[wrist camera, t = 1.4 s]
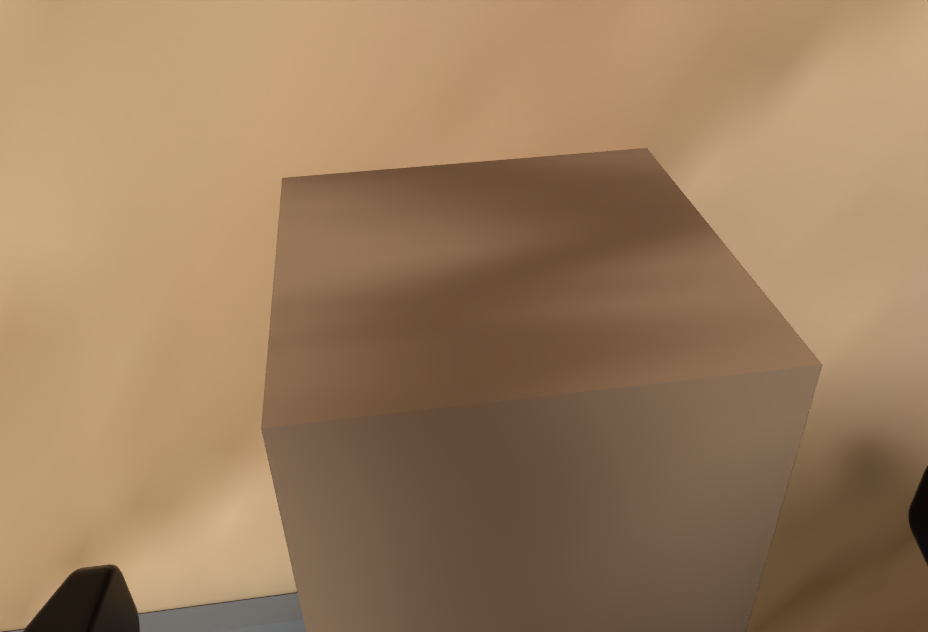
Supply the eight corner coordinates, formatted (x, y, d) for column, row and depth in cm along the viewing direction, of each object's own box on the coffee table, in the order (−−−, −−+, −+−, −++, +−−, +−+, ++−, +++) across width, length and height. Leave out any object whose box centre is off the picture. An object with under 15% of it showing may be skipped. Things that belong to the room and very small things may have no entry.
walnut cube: (645, 145, 12) (822, 364, 7) (615, 414, 14) (732, 679, 10) (282, 175, 11) (260, 427, 7) (326, 448, 14) (330, 740, 10)
